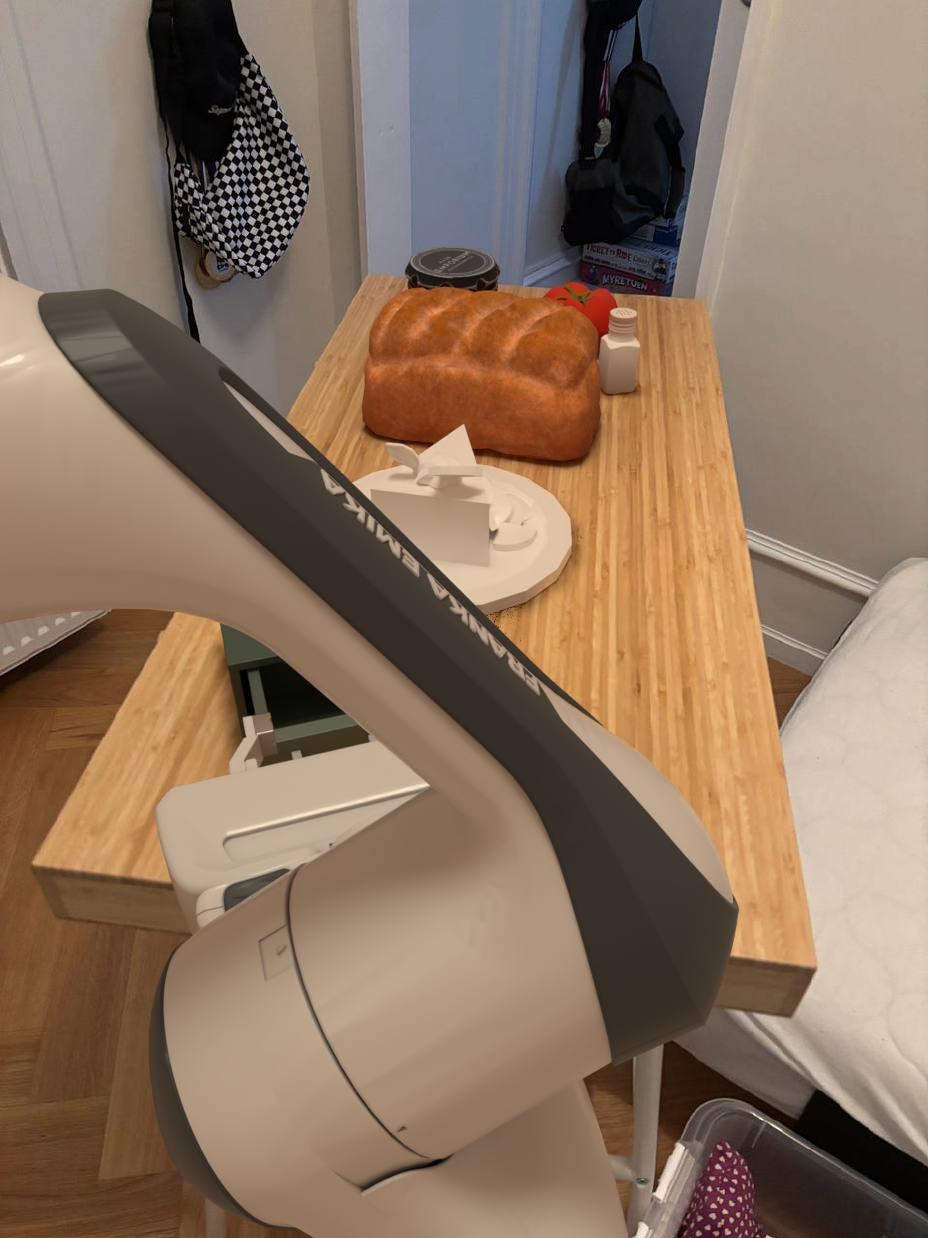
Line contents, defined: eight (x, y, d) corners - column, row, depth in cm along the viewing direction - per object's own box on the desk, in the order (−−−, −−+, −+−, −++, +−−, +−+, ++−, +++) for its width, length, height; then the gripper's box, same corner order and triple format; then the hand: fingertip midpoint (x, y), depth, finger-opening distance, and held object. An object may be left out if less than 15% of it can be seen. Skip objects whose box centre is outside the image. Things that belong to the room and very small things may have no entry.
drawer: (429, 831, 63) (427, 758, 58) (276, 869, 60) (261, 796, 56) (375, 679, 74) (370, 608, 69) (245, 706, 71) (230, 634, 67)
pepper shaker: (604, 395, 114) (612, 320, 108) (594, 381, 117) (602, 307, 111) (635, 393, 115) (645, 317, 109) (625, 379, 118) (634, 304, 112)
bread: (582, 472, 100) (596, 333, 90) (351, 437, 106) (341, 302, 96) (604, 415, 110) (619, 284, 101) (393, 385, 116) (387, 259, 106)
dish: (551, 637, 79) (560, 526, 72) (273, 596, 83) (256, 487, 76) (586, 488, 98) (597, 387, 91) (357, 460, 102) (350, 362, 95)
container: (495, 354, 123) (498, 279, 117) (399, 350, 124) (396, 274, 118) (502, 317, 133) (504, 245, 127) (412, 313, 134) (410, 242, 128)
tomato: (519, 343, 126) (521, 287, 122) (576, 323, 132) (581, 269, 127) (575, 369, 120) (580, 312, 115) (633, 347, 125) (640, 292, 121)
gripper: (629, 811, 42) (521, 623, 52) (157, 936, 37) (140, 702, 47) (615, 894, 46) (517, 705, 56) (187, 1017, 41) (165, 785, 51)
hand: (341, 704), depth 51 cm, fingers open, 8 cm apart
